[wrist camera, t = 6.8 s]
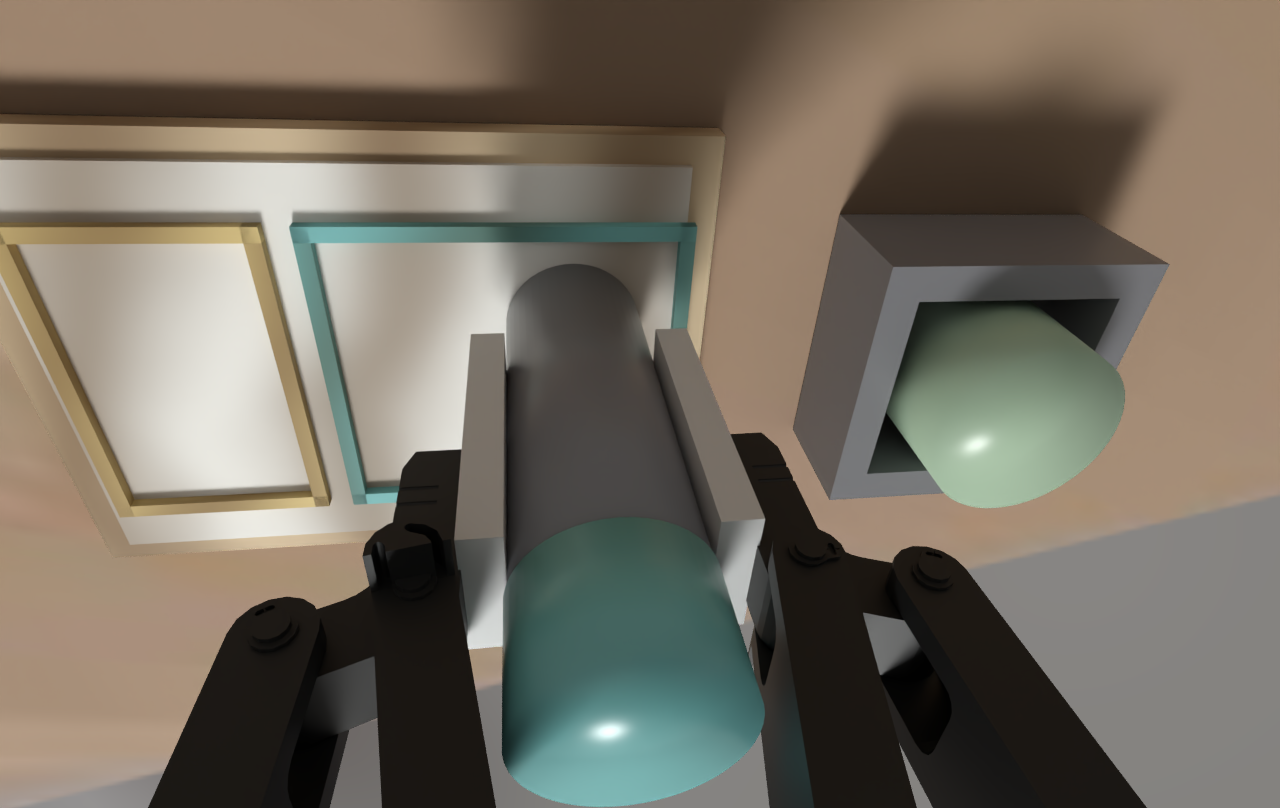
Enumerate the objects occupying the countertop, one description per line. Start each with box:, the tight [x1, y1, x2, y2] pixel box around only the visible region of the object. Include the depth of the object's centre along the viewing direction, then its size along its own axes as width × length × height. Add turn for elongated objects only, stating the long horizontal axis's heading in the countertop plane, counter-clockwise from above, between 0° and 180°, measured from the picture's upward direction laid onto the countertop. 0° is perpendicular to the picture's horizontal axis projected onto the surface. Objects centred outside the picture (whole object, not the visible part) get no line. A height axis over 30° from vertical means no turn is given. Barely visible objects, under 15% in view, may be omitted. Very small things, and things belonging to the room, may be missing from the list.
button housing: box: [793, 214, 1169, 500], centre depth 21 cm, size 8×8×4 cm
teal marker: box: [502, 264, 765, 807], centre depth 15 cm, size 4×4×12 cm
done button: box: [886, 300, 1125, 508], centre depth 20 cm, size 5×5×4 cm
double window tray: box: [0, 114, 726, 558], centre depth 20 cm, size 18×13×1 cm
